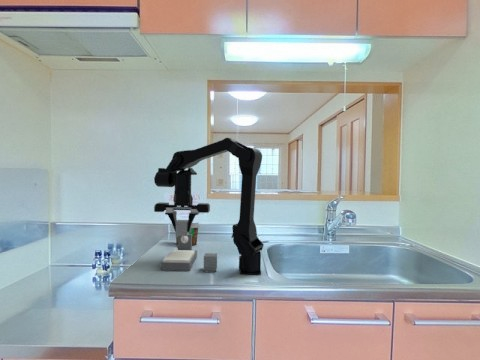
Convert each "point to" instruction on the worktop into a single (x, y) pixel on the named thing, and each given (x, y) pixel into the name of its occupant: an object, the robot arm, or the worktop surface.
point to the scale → (181, 256)
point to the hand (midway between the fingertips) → (182, 232)
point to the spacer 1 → (182, 228)
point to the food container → (192, 231)
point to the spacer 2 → (210, 262)
